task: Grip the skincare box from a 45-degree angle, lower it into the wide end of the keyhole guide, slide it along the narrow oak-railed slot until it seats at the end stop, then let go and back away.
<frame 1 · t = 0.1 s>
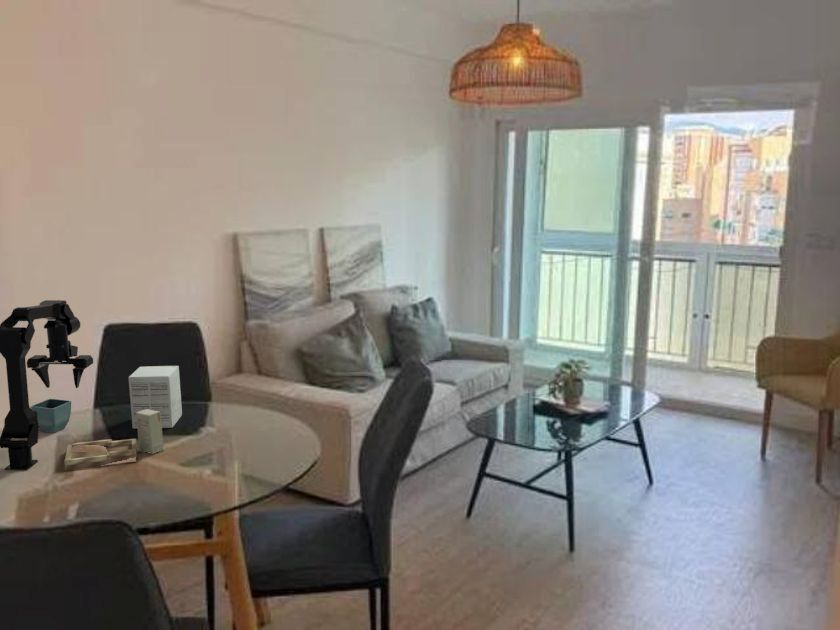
hand: (62, 387, 248), 15 cm above the table, tool pointing down, fingers open, 9 cm apart
keyhole guide: (102, 456, 230), on the table
skincare box: (151, 451, 235), on the table
supplement box: (157, 422, 260), on the table
flower pot: (53, 430, 253), on the table
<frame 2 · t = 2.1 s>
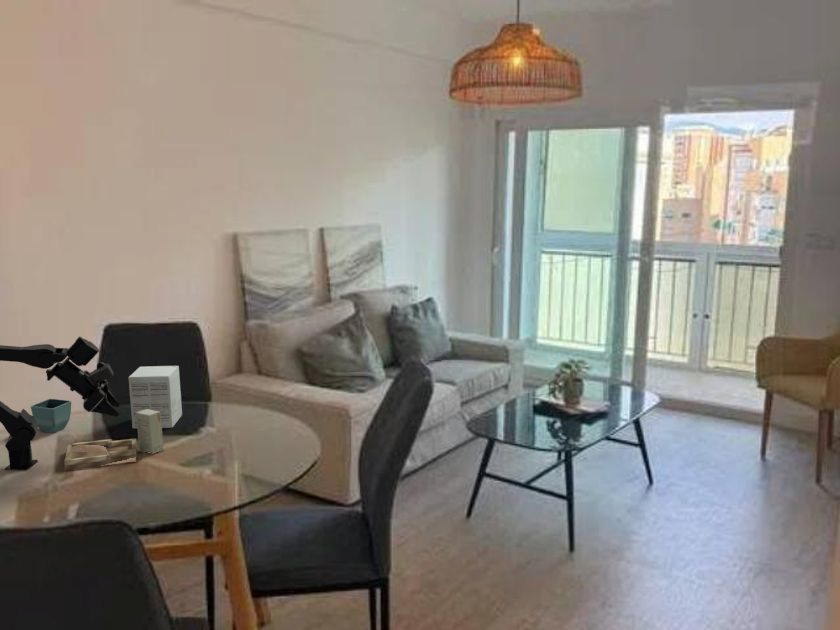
hand: (118, 410, 230), 13 cm above the table, tool tilted 45°, fingers open, 9 cm apart
nothing on the table moved.
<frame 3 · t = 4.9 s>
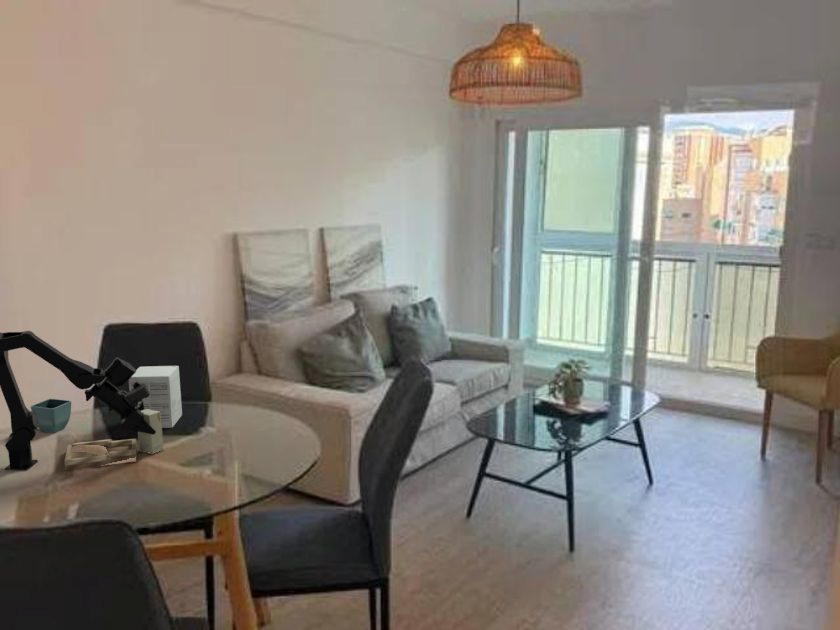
hand: (154, 429, 234), 7 cm above the table, tool tilted 45°, fingers closed on skincare box, 7 cm apart
skincare box: (151, 451, 235), on the table, touching gripper
everything else where it was.
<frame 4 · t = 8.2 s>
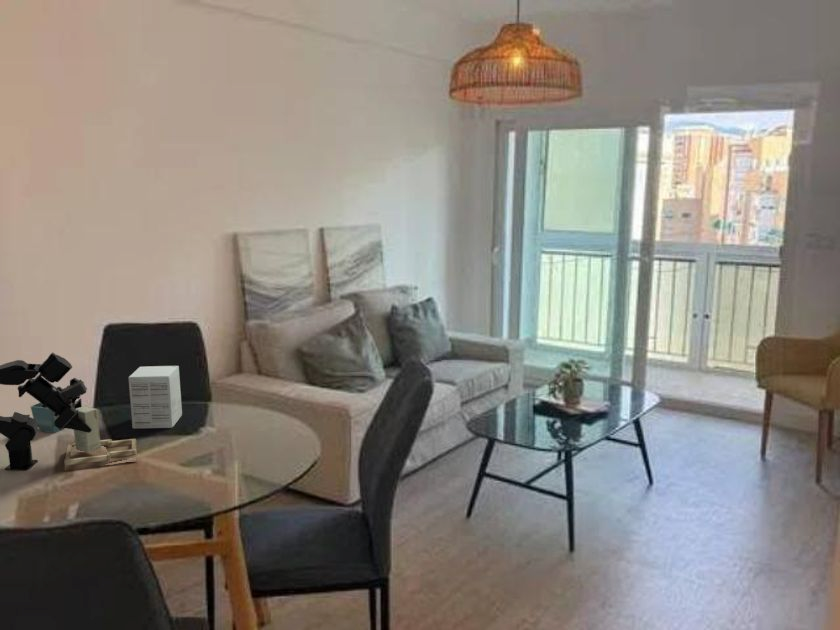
hand: (91, 427, 228), 9 cm above the table, tool tilted 45°, fingers closed on skincare box, 7 cm apart
skincare box: (88, 449, 229), point 3 cm above the table, touching gripper
everything else where it was.
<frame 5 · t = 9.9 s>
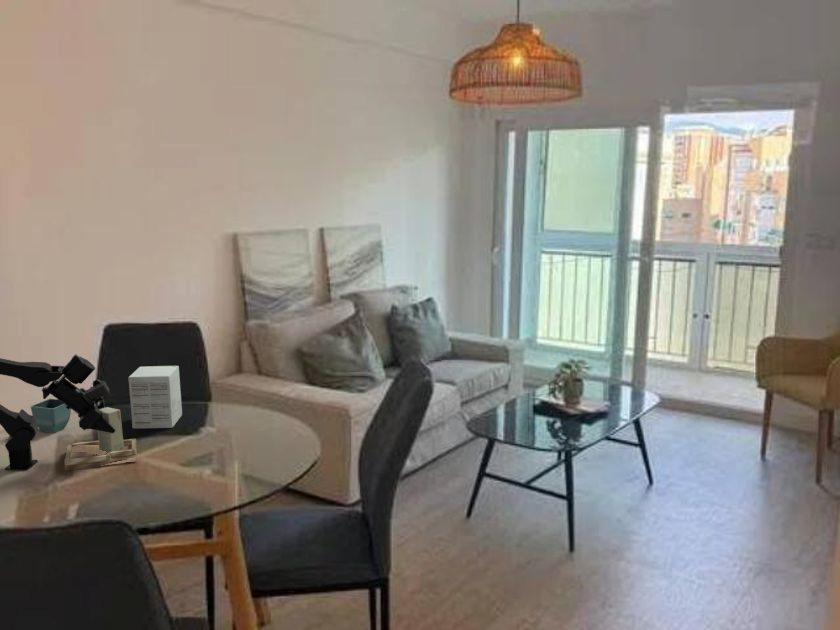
hand: (114, 427, 230), 8 cm above the table, tool tilted 45°, fingers closed on skincare box, 7 cm apart
skincare box: (111, 450, 231), point 2 cm above the table, touching gripper
everything else where it was.
when the fingers open (8 cm above the table, at t = 11.7 s): skincare box stays where it is, resting on keyhole guide.
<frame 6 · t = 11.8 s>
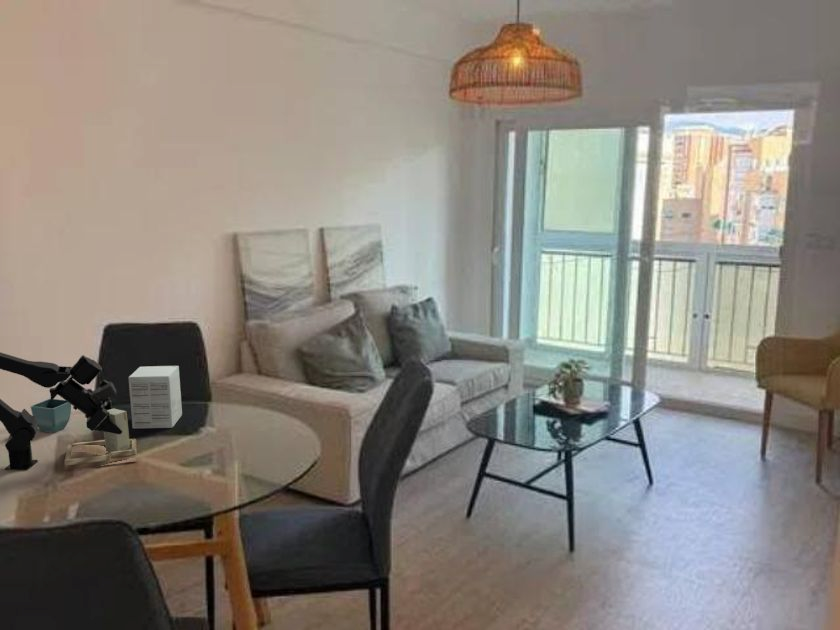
hand: (121, 428, 231), 8 cm above the table, tool tilted 45°, fingers open, 8 cm apart
skincare box: (117, 451, 231), point 1 cm above the table, touching keyhole guide
everything else where it was.
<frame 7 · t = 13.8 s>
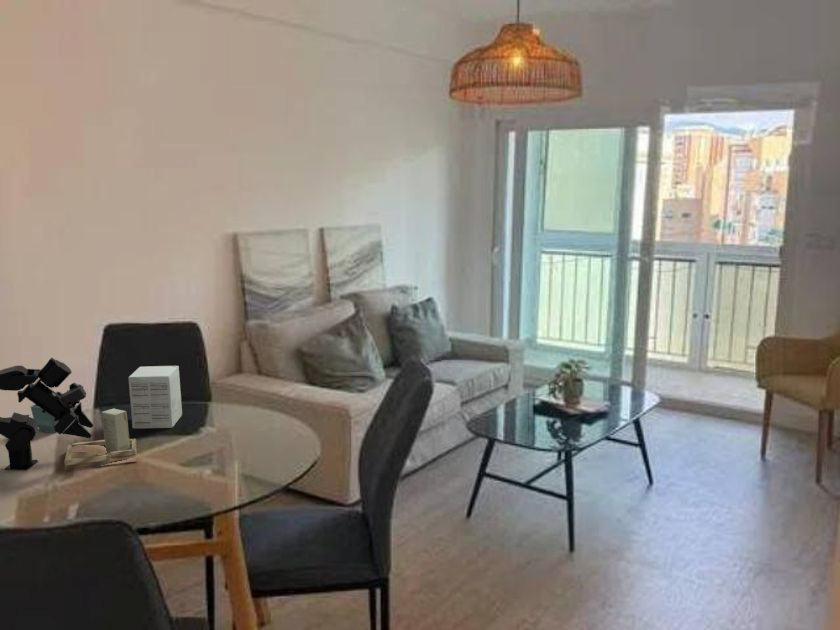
hand: (91, 431, 228), 8 cm above the table, tool tilted 45°, fingers open, 9 cm apart
nothing on the table moved.
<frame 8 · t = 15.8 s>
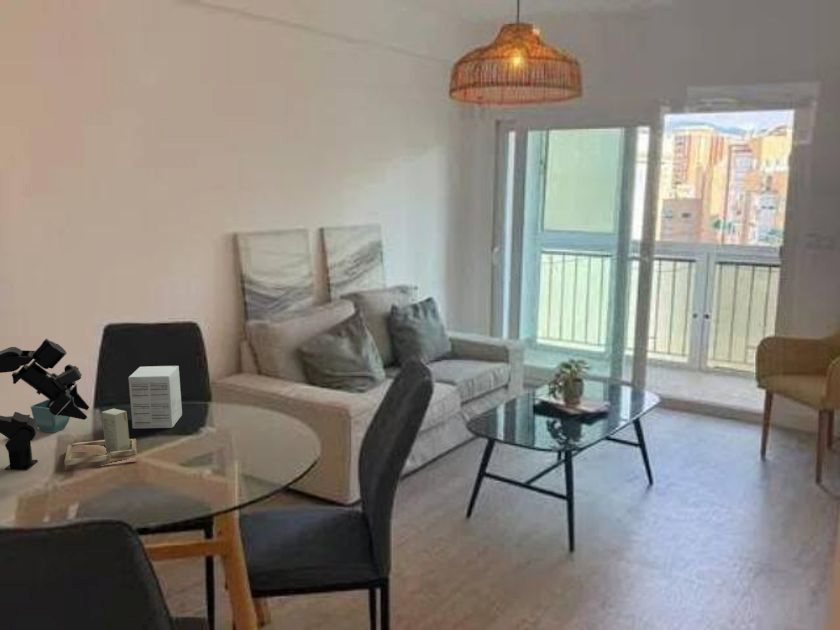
hand: (87, 413, 227), 14 cm above the table, tool tilted 45°, fingers open, 9 cm apart
nothing on the table moved.
at the end: skincare box 0.3 cm from the target spot, point 1.0 cm above the table; skincare box tilted 0°; the gripper is holding nothing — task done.
